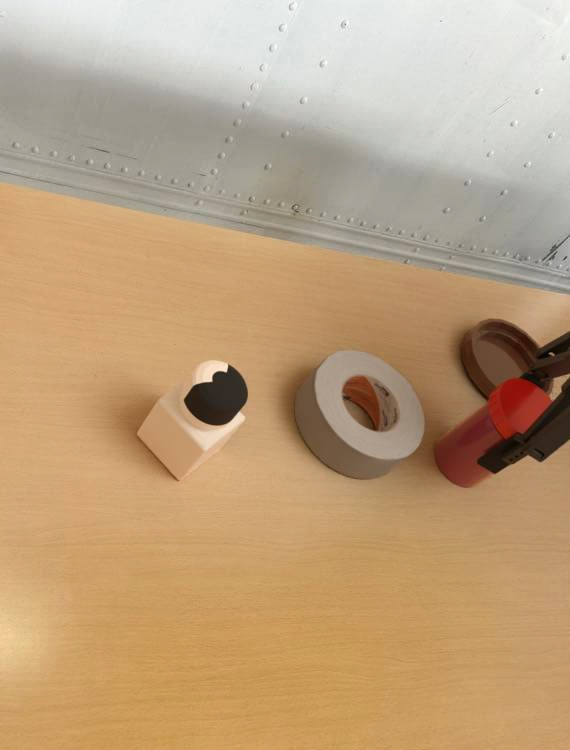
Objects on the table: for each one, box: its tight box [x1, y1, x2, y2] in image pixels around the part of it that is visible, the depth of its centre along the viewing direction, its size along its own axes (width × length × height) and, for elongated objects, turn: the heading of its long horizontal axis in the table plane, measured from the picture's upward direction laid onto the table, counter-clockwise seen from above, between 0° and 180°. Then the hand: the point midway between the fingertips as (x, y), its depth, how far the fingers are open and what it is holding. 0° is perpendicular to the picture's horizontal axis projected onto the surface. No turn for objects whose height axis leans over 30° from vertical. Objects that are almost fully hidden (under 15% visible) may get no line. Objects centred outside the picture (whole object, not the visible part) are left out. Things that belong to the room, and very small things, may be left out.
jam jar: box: [433, 400, 506, 489], centre depth 97 cm, size 8×8×12 cm
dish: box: [461, 317, 555, 399], centre depth 111 cm, size 14×14×3 cm
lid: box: [488, 378, 554, 440], centre depth 92 cm, size 9×9×2 cm
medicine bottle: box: [136, 359, 249, 481], centre depth 81 cm, size 7×7×12 cm
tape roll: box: [293, 349, 426, 480], centre depth 95 cm, size 15×15×5 cm
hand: (491, 436), depth 97 cm, fingers closed on lid, 9 cm apart
